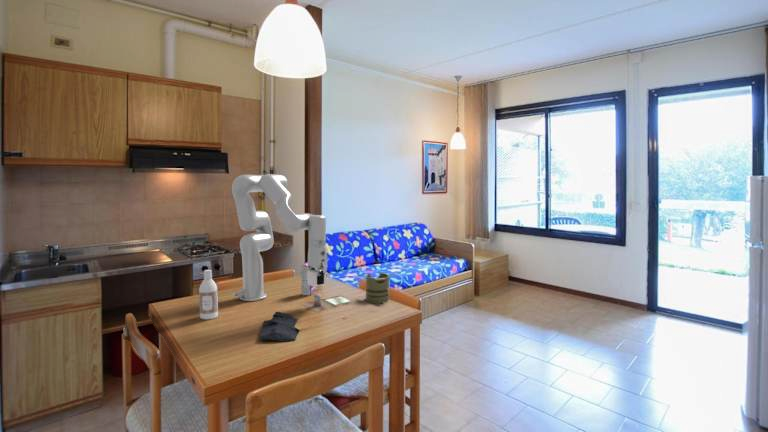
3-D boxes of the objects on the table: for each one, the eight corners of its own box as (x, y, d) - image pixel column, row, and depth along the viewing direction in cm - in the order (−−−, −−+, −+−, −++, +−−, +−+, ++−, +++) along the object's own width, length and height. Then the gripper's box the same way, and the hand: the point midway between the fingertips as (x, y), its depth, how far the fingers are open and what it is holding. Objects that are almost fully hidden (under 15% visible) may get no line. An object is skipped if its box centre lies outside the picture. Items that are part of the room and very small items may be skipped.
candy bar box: (309, 291, 202) (309, 260, 201) (318, 292, 201) (318, 260, 200) (301, 297, 191) (300, 265, 190) (310, 298, 190) (310, 265, 189)
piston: (363, 273, 193) (385, 272, 196) (363, 297, 194) (384, 295, 197) (369, 279, 182) (392, 277, 185) (369, 304, 183) (392, 302, 186)
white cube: (325, 284, 174) (326, 271, 173) (314, 286, 170) (314, 272, 170) (318, 281, 179) (319, 268, 178) (307, 283, 175) (307, 270, 174)
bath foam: (198, 320, 159) (196, 272, 157) (202, 314, 166) (200, 268, 164) (216, 319, 161) (215, 271, 159) (219, 313, 168) (218, 268, 166)
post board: (315, 315, 167) (315, 300, 166) (300, 307, 177) (299, 293, 177) (357, 305, 181) (357, 291, 180) (340, 298, 192) (340, 285, 191)
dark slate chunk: (252, 344, 138) (252, 331, 138) (265, 322, 160) (265, 310, 159) (296, 343, 139) (296, 330, 139) (303, 321, 161) (302, 309, 161)
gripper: (334, 245, 168) (334, 285, 170) (314, 239, 182) (314, 277, 183) (319, 246, 164) (319, 288, 165) (300, 240, 177) (299, 279, 179)
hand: (316, 282), depth 174 cm, fingers closed on white cube, 6 cm apart
